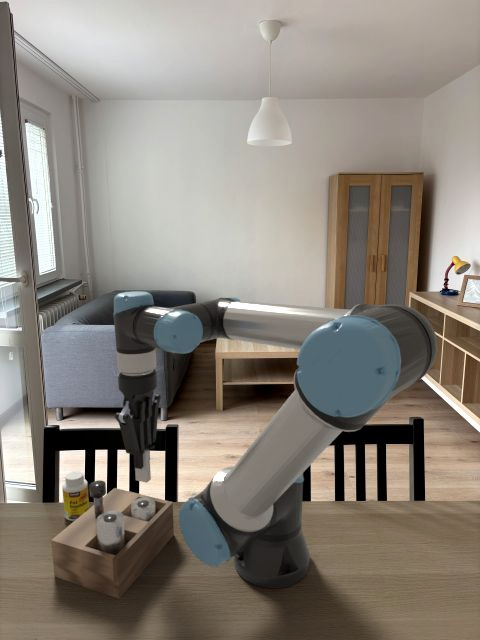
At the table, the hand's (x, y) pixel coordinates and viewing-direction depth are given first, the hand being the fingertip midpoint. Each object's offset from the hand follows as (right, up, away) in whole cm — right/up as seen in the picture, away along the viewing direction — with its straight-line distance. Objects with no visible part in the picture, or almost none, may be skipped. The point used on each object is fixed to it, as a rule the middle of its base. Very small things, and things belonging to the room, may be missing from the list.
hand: (143, 479), depth 105 cm
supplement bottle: (-18, -13, +13) cm, 26 cm away
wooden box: (-5, -15, 0) cm, 16 cm away
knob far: (0, -14, +3) cm, 15 cm away
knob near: (-4, -13, -7) cm, 16 cm away
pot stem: (-9, -7, -1) cm, 11 cm away
